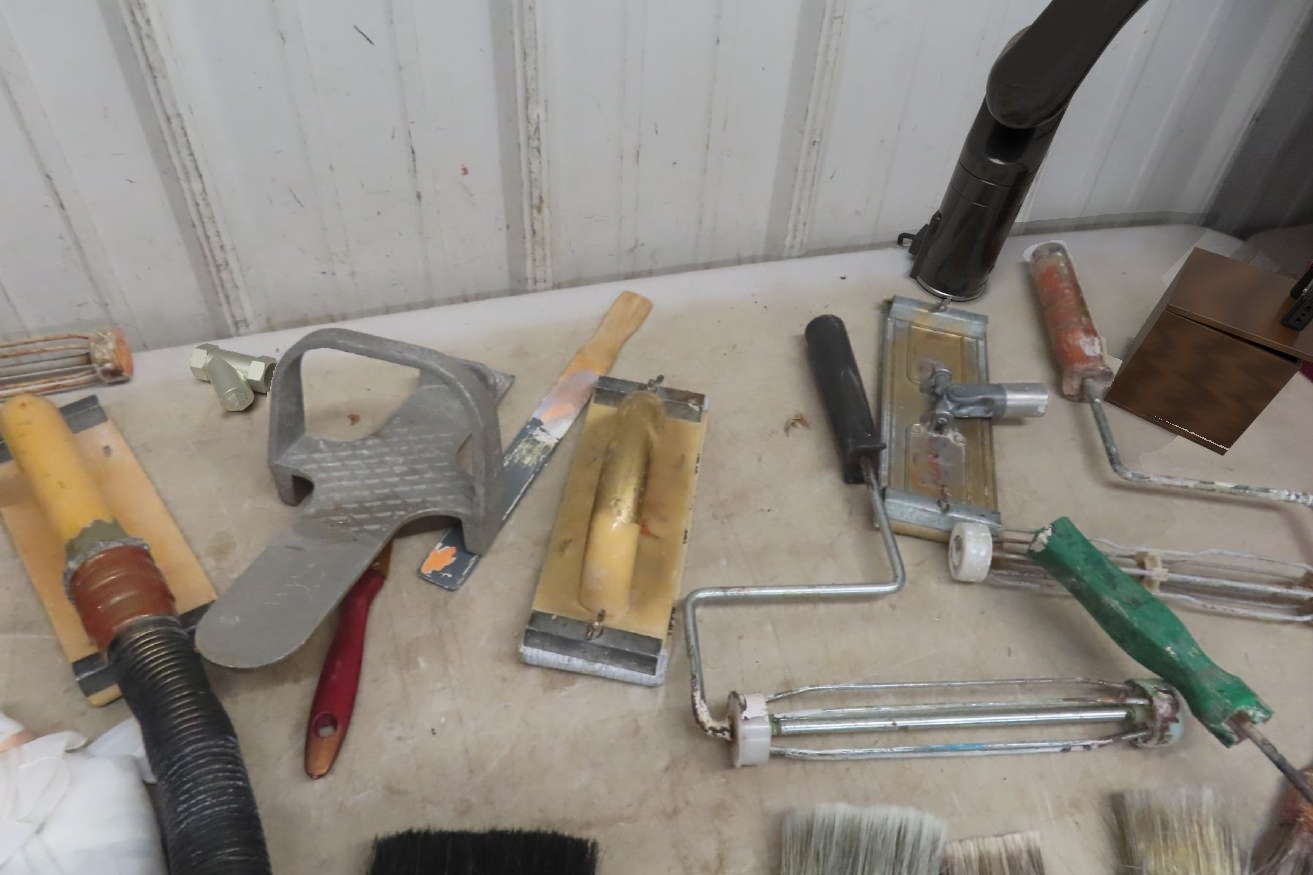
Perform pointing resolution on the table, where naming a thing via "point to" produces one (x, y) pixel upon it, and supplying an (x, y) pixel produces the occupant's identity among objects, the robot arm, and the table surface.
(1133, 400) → the chest
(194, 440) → the table surface
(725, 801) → the table surface
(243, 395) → the pipe fitting
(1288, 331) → the lid
